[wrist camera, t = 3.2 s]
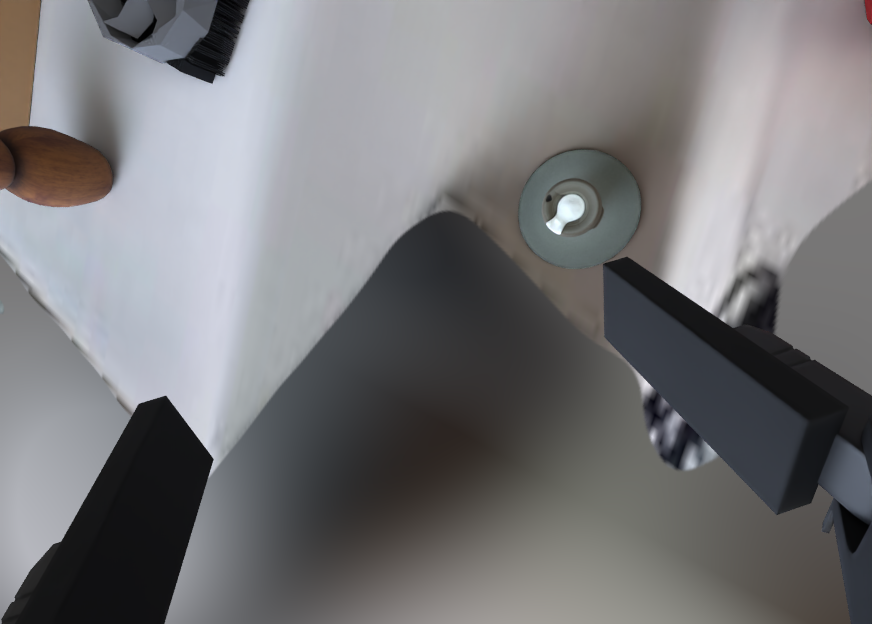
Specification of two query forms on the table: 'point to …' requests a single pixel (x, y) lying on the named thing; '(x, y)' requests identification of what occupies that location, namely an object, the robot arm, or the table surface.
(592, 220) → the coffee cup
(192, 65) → the cpu cooler
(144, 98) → the table surface
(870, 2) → the plastic cup
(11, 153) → the wooden figurine
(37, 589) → the robot arm
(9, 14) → the shoebox
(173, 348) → the table surface
